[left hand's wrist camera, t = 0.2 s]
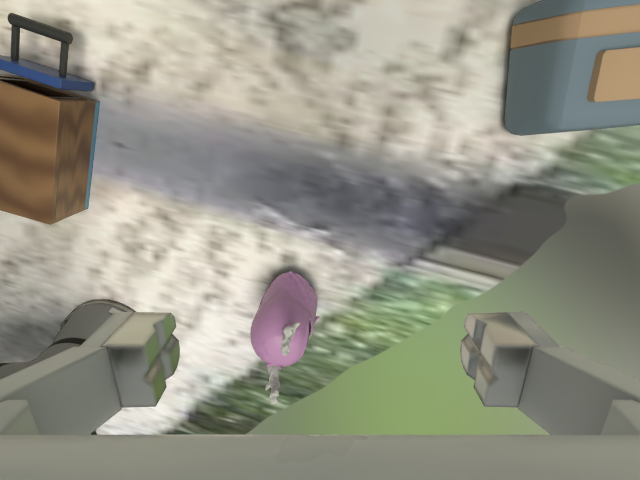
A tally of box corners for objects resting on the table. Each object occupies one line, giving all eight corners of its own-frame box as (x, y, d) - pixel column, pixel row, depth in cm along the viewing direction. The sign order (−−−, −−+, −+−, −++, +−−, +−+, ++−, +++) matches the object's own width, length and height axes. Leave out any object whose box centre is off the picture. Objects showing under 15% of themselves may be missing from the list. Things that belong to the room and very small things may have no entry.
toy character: (305, 332, 66) (299, 421, 48) (252, 312, 65) (224, 397, 46) (332, 277, 62) (338, 351, 44) (276, 255, 61) (257, 322, 42)
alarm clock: (631, -3, 48) (772, -52, 33) (609, 125, 54) (720, 133, 39) (507, 10, 49) (590, -32, 34) (497, 135, 54) (565, 147, 39)
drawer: (23, 15, 48) (-22, 2, 42) (97, 41, 49) (64, 32, 43) (17, 167, 55) (-22, 175, 49) (82, 187, 56) (52, 197, 50)
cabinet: (21, 76, 52) (-35, 70, 43) (99, 102, 53) (59, 101, 45) (17, 187, 57) (-33, 200, 49) (88, 208, 58) (50, 224, 50)
